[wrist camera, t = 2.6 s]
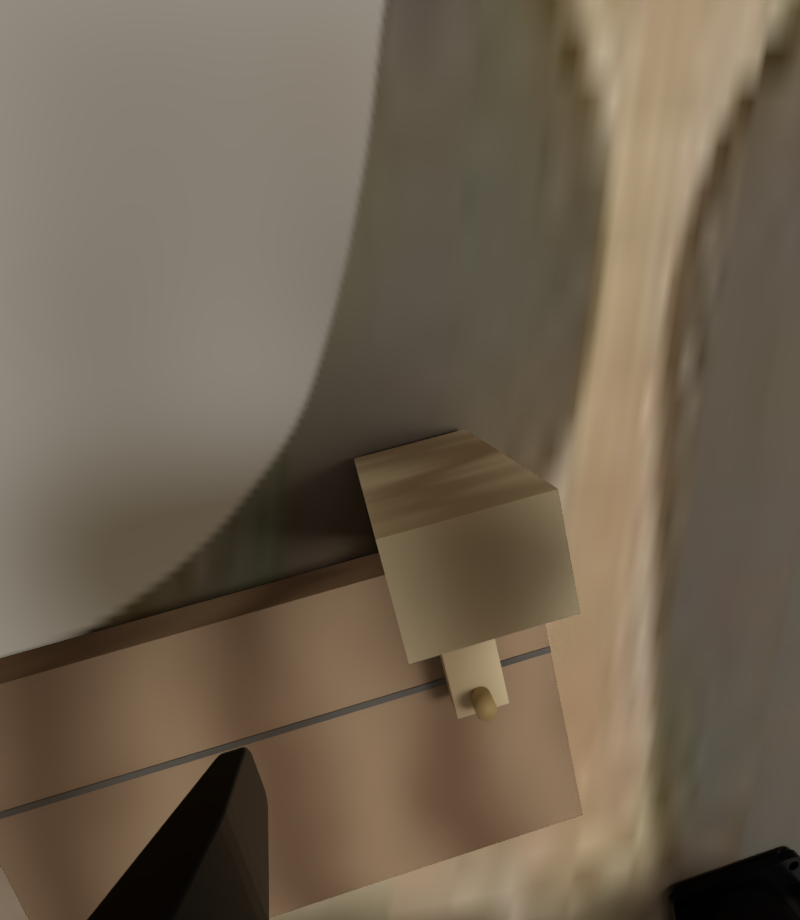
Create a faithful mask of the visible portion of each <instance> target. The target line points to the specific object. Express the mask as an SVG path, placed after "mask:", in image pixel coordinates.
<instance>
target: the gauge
mask: <svg viewBox="0 0 800 920" xmlns="http://www.w3.org/2000/svg"><path fill="white" fill-rule="evenodd" d="M354 461H355V465H356V469H357V473H358V476H359V480H360V484H361V488H362V491H363V495H364V499H365V502H366V506H367V510H368V514H369V517H370V521H371V525H372V529H373V532H374V536H375V540H376V544H377V547H378V551H379V555H380V558H381V562H382V566H383V570H384V573H385V577H386V581H387V584H388V588H389V592H390V596H391V599H392V603H393V607H394V610H395V614H396V618H397V622H398V625H399V629H400V633H401V636H402V640H403V644H404V648H405V651H406V655H407V659H408V663H409V664H411V663H415V662H418V661H421V660H425V659H428V658H431V657H435V656H438V655H440V658H441V662H442V666H443V670H444V674H445V678H446V682H447V686H448V690H449V694H450V698H451V701H452V704H453V707H454V709H455V712H456V715H457V718H458V719H460V718H463V717H466V716H469V715H473V714H476V715H477V717H478V718H479V719H480V720H481V721H490V720H492V719H493V718H495V716H496V715H497V712H498V708H497V707H499V706H502V705H505V704H508V703H509V700H508V695H507V691H506V686H505V682H504V677H503V673H502V668H501V664H500V659H499V655H498V650H497V646H496V641H495V638H499V637H502V636H505V635H509V634H512V633H515V632H519V631H522V630H525V629H529V628H532V627H535V626H539V625H542V624H545V623H549V622H552V621H556V620H559V619H562V618H566V617H569V616H572V615H576V614H579V613H580V610H579V604H578V599H577V593H576V587H575V582H574V576H573V571H572V565H571V559H570V554H569V548H568V542H567V537H566V531H565V526H564V520H563V514H562V509H561V503H560V497H559V492H558V489H557V488H556V487H554V486H553V485H551V484H549V483H548V482H546V481H545V480H543V479H542V478H540V477H538V476H537V475H535V474H534V473H532V472H531V471H529V470H527V469H526V468H524V467H523V466H521V465H520V464H518V463H517V462H515V461H513V460H512V459H510V458H509V457H507V456H506V455H504V454H502V453H501V452H499V451H498V450H496V449H495V448H493V447H491V446H490V445H488V444H487V443H485V442H484V441H482V440H480V439H479V438H477V437H476V436H474V435H473V434H471V433H470V432H468V431H466V430H465V429H463V430H460V431H456V432H452V433H448V434H445V435H441V436H437V437H433V438H430V439H426V440H422V441H418V442H415V443H411V444H407V445H403V446H399V447H396V448H392V449H388V450H384V451H381V452H377V453H373V454H369V455H366V456H362V457H358V458H354Z"/></svg>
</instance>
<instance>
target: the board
mask: <svg viewBox="0 0 800 920" xmlns="http://www.w3.org/2000/svg"><path fill="white" fill-rule="evenodd" d="M495 641H496V646H497V650H498V655H499V659H500V664H501V668H502V673H503V677H504V682H505V686H506V691H507V695H508V700H509V703H508V704H505V705H502V706H499V707H497V708H498V712H497V715H496V716H495V718H493V719H492V720H490V721H481V720H480V719H479V718H478V717H477V715H476V714H473V715H469V716H466V717H463V718H460V719H458V718H457V715H456V712H455V709H454V707H453V704H452V701H451V698H450V694H449V690H448V686H447V682H446V678H445V674H444V670H443V666H442V662H441V658H440V655H438V656H435V657H431V658H428V659H425V660H421V661H418V662H415V663H411V664H409V663H408V659H407V655H406V651H405V648H404V644H403V640H402V636H401V633H400V629H399V625H398V622H397V618H396V614H395V610H394V607H393V603H392V599H391V596H390V592H389V588H388V584H387V581H386V577H385V573H384V570H383V566H382V562H381V558H380V555H379V552H378V553H375V554H371V555H368V556H364V557H361V558H357V559H353V560H350V561H346V562H343V563H339V564H336V565H332V566H328V567H325V568H321V569H318V570H314V571H311V572H307V573H303V574H300V575H296V576H293V577H289V578H286V579H282V580H279V581H275V582H271V583H268V584H264V585H261V586H257V587H254V588H250V589H246V590H243V591H239V592H236V593H232V594H229V595H225V596H222V597H218V598H214V599H211V600H207V601H204V602H200V603H197V604H193V605H189V606H186V607H182V608H179V609H175V610H172V611H168V612H164V613H161V614H157V615H154V616H150V617H147V618H143V619H140V620H136V621H132V622H129V623H125V624H122V625H118V626H115V627H111V628H107V629H104V630H100V631H97V632H93V633H90V634H86V635H83V636H79V637H75V638H72V639H68V640H65V641H61V642H58V643H54V644H50V645H47V646H43V647H40V648H36V649H33V650H29V651H25V652H22V653H18V654H15V655H11V656H8V657H4V658H1V659H0V865H1V867H2V869H3V871H4V873H5V875H6V877H7V879H8V881H9V883H10V884H11V886H12V888H13V890H14V892H15V894H16V896H17V898H18V900H19V902H20V904H21V905H22V907H23V909H24V911H25V913H26V915H27V917H28V919H29V920H87V919H88V918H89V916H90V915H91V914H92V913H93V911H94V910H95V909H96V908H97V906H98V905H99V904H100V903H101V901H102V900H103V899H104V898H105V896H106V895H107V894H108V893H109V891H110V890H111V889H112V888H113V886H114V885H115V884H116V883H117V881H118V880H119V879H120V878H121V876H122V875H123V874H124V873H125V871H126V870H127V869H128V868H129V866H130V865H131V864H132V863H133V861H134V860H135V859H136V858H137V856H138V855H139V854H140V853H141V851H142V850H143V849H144V848H145V846H146V845H147V844H148V843H149V841H150V840H151V839H152V838H153V836H154V835H155V834H156V833H157V831H158V830H159V829H160V828H161V826H162V825H163V824H164V823H165V821H166V820H167V819H168V818H169V816H170V815H171V814H172V813H173V811H174V810H175V809H176V808H177V806H178V805H179V804H180V803H181V801H182V800H183V799H184V798H185V796H186V795H187V794H188V793H189V791H190V790H191V789H192V788H193V786H194V785H195V784H196V783H197V781H198V780H199V779H200V778H201V776H202V775H203V774H204V773H205V771H206V770H207V769H208V768H209V766H210V765H211V764H212V763H213V761H214V760H215V759H216V758H217V757H218V756H219V755H220V754H222V753H225V752H228V751H231V750H234V749H238V748H241V747H246V748H248V749H249V750H250V752H251V753H252V756H253V758H254V761H255V764H256V767H257V769H258V772H259V775H260V777H261V780H262V783H263V785H264V788H265V791H266V795H267V801H268V837H269V918H271V917H274V916H277V915H280V914H283V913H286V912H289V911H292V910H295V909H298V908H301V907H304V906H307V905H310V904H313V903H316V902H319V901H322V900H325V899H328V898H331V897H334V896H337V895H340V894H344V893H347V892H350V891H353V890H356V889H359V888H362V887H365V886H368V885H371V884H374V883H377V882H380V881H383V880H386V879H389V878H392V877H395V876H398V875H401V874H404V873H407V872H410V871H413V870H416V869H420V868H423V867H426V866H429V865H432V864H435V863H438V862H441V861H444V860H447V859H450V858H453V857H456V856H459V855H462V854H465V853H468V852H471V851H474V850H477V849H480V848H483V847H486V846H489V845H492V844H495V843H499V842H502V841H505V840H508V839H511V838H514V837H517V836H520V835H523V834H526V833H529V832H532V831H535V830H538V829H541V828H544V827H547V826H550V825H553V824H556V823H559V822H562V821H565V820H568V819H571V818H575V817H578V816H581V815H582V810H581V805H580V800H579V795H578V790H577V784H576V779H575V774H574V769H573V764H572V759H571V754H570V749H569V744H568V738H567V733H566V728H565V723H564V718H563V713H562V708H561V703H560V698H559V692H558V687H557V682H556V677H555V672H554V667H553V662H552V657H551V650H550V646H549V641H548V636H547V631H546V626H545V624H542V625H539V626H535V627H532V628H529V629H525V630H522V631H519V632H515V633H512V634H509V635H505V636H502V637H499V638H495Z"/></svg>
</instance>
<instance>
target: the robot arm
mask: <svg viewBox="0 0 800 920" xmlns="http://www.w3.org/2000/svg"><path fill="white" fill-rule="evenodd" d="M669 904H670V911H671V917H672V920H800V856H799V855H798V854H797V853H796V852H795V851H794V850H791V849H788V850H784V851H781V852H779V853H776V854H773V855H770V856H767V857H764V858H761V859H758V860H755V861H752V862H750V863H747V864H744V865H741V866H738V867H735V868H732V869H729V870H726V871H723V872H721V873H718V874H715V875H712V876H709V877H706V878H703V879H700V880H697V881H694V882H692V883H689V884H686V885H683V886H680V887H677V888H675V889H674V890H673V891H671V893H670V895H669ZM87 920H269V837H268V801H267V795H266V791H265V788H264V785H263V783H262V780H261V777H260V775H259V772H258V769H257V767H256V764H255V761H254V758H253V756H252V753H251V752H250V750H249V749H248V748H246V747H241V748H238V749H234V750H231V751H228V752H225V753H222V754H220V755H219V756H218V757H217V758H216V759H215V760H214V761H213V763H212V764H211V765H210V766H209V768H208V769H207V770H206V771H205V773H204V774H203V775H202V776H201V778H200V779H199V780H198V781H197V783H196V784H195V785H194V786H193V788H192V789H191V790H190V791H189V793H188V794H187V795H186V796H185V798H184V799H183V800H182V801H181V803H180V804H179V805H178V806H177V808H176V809H175V810H174V811H173V813H172V814H171V815H170V816H169V818H168V819H167V820H166V821H165V823H164V824H163V825H162V826H161V828H160V829H159V830H158V831H157V833H156V834H155V835H154V836H153V838H152V839H151V840H150V841H149V843H148V844H147V845H146V846H145V848H144V849H143V850H142V851H141V853H140V854H139V855H138V856H137V858H136V859H135V860H134V861H133V863H132V864H131V865H130V866H129V868H128V869H127V870H126V871H125V873H124V874H123V875H122V876H121V878H120V879H119V880H118V881H117V883H116V884H115V885H114V886H113V888H112V889H111V890H110V891H109V893H108V894H107V895H106V896H105V898H104V899H103V900H102V901H101V903H100V904H99V905H98V906H97V908H96V909H95V910H94V911H93V913H92V914H91V915H90V916H89V918H88V919H87Z"/></svg>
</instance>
